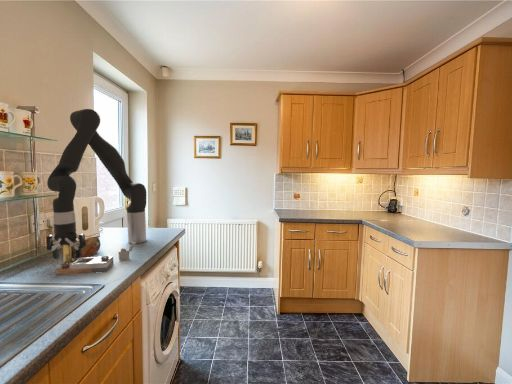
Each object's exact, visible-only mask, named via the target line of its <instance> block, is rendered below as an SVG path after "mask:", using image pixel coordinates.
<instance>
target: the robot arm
mask: <svg viewBox="0 0 512 384" xmlns="http://www.w3.org/2000/svg"><path fill="white" fill-rule="evenodd" d="M69 121H70V124H71V125H72V127H73V128H74V129H75V131H76V133H75V134H74V136H73V137H72V138H71V140H70V142H68V144H67V146H65V149H63V152H62V154H61V157H60V160H59V161H58V164H57V166H55V168H54V169H53V170H52V172H51V173H50V175H49V176H48V177H47V182H46V184H47V187H48V189H49V190H50V191H51V192H56V193H58V197H56V198H54V199H53V200H52V210H53V211H52V212H53V217H52V218H53V219H52V220H53V222H52V223H53V233H54V234H49V235H48V236H46V250H48V251H49V250H50V251H52V258H53V259H54V260H58V259H59V258H60V250H59V248H60V246H62V245H71V246H72V247H74V248H75V249H76V258H79V257H80V256H81V255H82V253H81V248H83V247H85V246H86V242H85V239H86V235H85V233H81V234H77V225H76V223H77V222H76V213H75V207H74V200H75V196H76V192H77V191H76V190H77V182H76V180H75V178H74V177H72V174H74V173H76V172H77V171H78V169H79V168H80V164H81V162H82V159H83V157H84V154H85V151H86V150H87V147H88V145H89V147H90V148H91V149H92V151H93V152H94V153H95V155H96V156H97V158H98V159H99V161H100V162H101V163H102V165H103V166H104V167H105V169H106V170H107V171H108V173H109V174H110V175H111V177H112V178H113V179H114V181H115V182H116V184H117V186H118V188H119V189H120V191H121V193H122V194H123V196H124V197H125V198H126V199H129V200H130V204H129V205H128V206H127V207H126V217H127V218H126V219H127V220H126V221H127V237H128V238H127V241H128V243H129V244H132V242H136V243H135V244H141V243H145V242H146V241H147V225H146V224H147V223H146V207H147V189H146V187H145V185H144V184H143V183H140V182H134V181H133V180H132V179H131V178H130V176H129V175H128V173H127V170H126V169H127V168H126V164H125V160H124V159H123V157H122V155H121V154H120V152H119V151H118V150H117V148H116V147H115V146H113V145H112V144H111V143H109V142H108V141H107V140H105V139H104V138H103V137H102V136H101V134H99V132H98V131H97V129H98V128H99V126H100V124H101V118H100V115H99V113H98V111H96V110H94V109H91V108H83V109H80V110H79V109H78V110H75V111H73V112H71V114H70V116H69ZM54 240H55V241H56V242H54ZM78 241H79V242H78ZM79 243H80V244H79Z"/></svg>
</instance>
